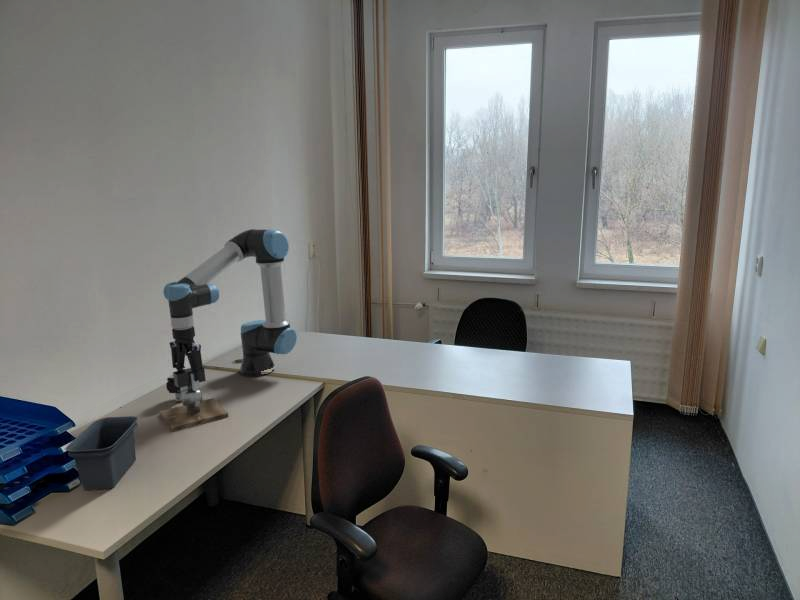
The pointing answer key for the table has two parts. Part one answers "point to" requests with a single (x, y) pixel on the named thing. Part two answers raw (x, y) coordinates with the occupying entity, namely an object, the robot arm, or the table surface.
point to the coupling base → (193, 414)
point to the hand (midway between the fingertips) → (190, 387)
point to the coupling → (189, 387)
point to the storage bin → (104, 451)
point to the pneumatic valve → (174, 388)
